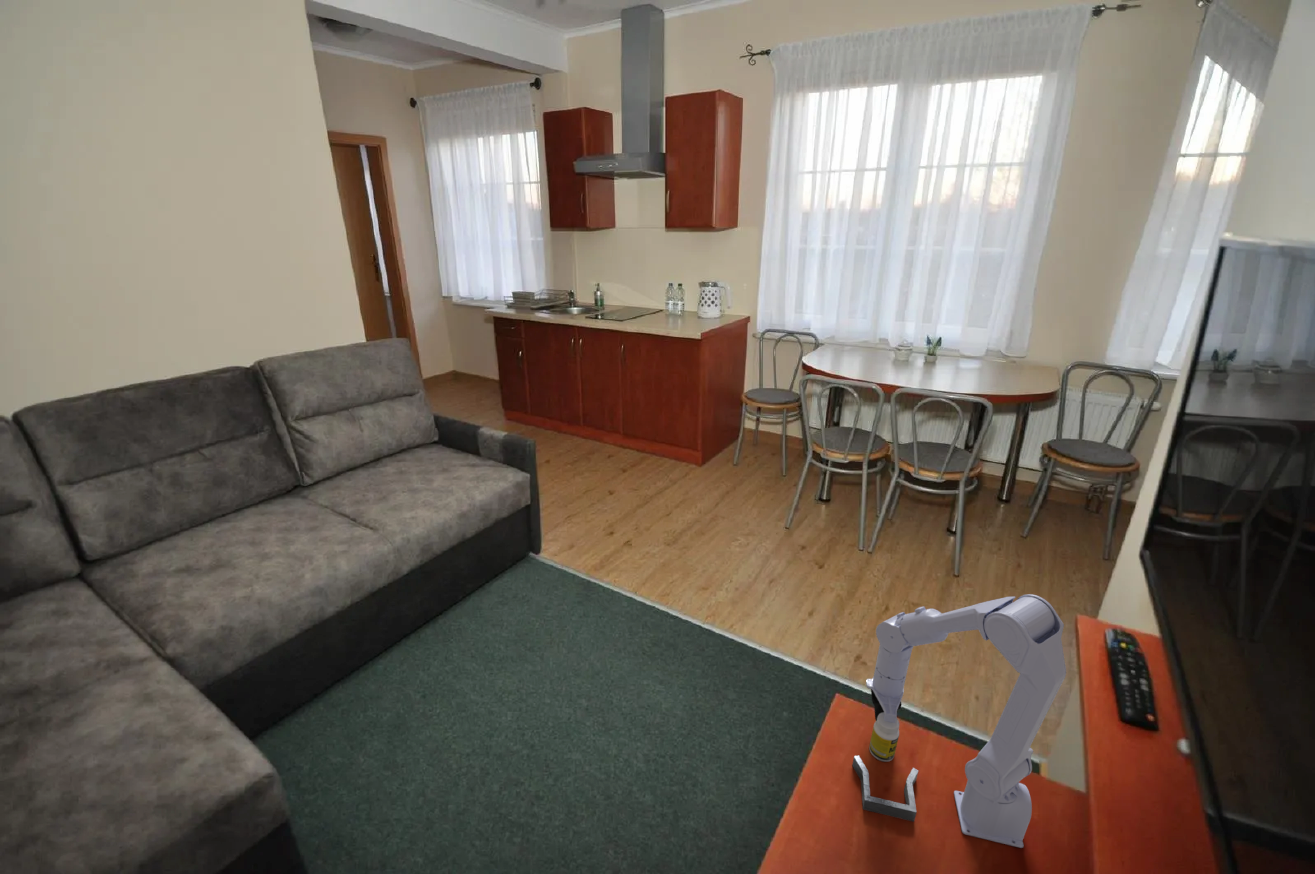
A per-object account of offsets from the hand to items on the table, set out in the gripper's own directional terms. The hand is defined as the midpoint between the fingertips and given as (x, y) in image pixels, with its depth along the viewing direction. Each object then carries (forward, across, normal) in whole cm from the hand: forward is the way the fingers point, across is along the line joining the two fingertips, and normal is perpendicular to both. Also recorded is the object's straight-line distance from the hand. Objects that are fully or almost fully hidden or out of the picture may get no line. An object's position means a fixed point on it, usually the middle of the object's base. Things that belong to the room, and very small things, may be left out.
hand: (880, 719), depth 120 cm
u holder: (+2, +16, 0) cm, 16 cm away
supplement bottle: (+2, +6, 0) cm, 6 cm away
